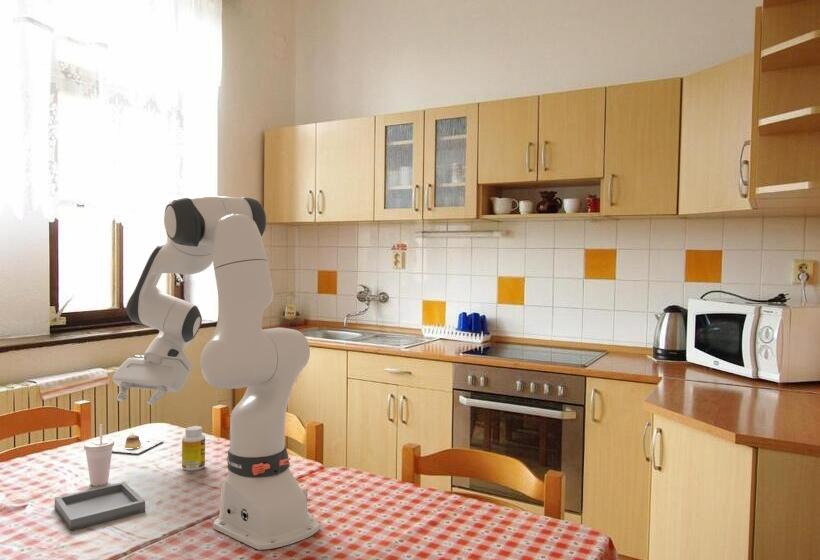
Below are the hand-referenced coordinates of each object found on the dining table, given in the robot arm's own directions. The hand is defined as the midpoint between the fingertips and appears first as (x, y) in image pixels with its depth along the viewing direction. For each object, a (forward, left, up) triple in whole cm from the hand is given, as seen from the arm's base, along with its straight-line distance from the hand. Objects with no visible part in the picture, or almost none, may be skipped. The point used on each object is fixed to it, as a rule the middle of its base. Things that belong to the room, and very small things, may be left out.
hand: (134, 401), depth 150 cm
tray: (-21, +14, -17) cm, 30 cm away
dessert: (+17, -5, -18) cm, 25 cm away
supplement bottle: (-9, -11, -17) cm, 23 cm away
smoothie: (-5, +10, -17) cm, 20 cm away
